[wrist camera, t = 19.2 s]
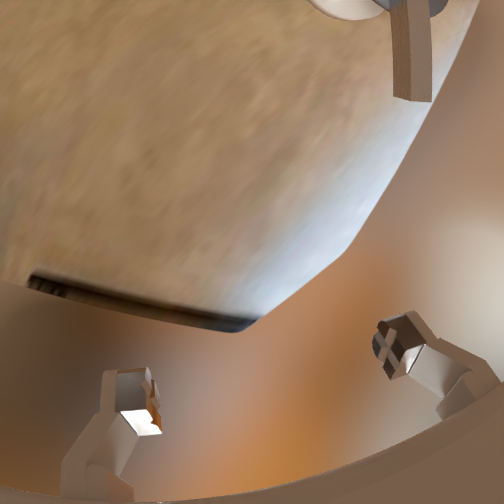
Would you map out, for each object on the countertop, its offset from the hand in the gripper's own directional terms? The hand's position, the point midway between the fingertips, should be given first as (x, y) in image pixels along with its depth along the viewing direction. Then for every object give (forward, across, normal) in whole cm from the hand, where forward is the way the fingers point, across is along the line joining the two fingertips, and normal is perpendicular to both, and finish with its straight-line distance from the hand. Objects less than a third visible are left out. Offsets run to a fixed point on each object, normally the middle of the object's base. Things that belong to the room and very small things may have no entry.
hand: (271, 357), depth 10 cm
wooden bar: (+22, -20, -19) cm, 35 cm away
